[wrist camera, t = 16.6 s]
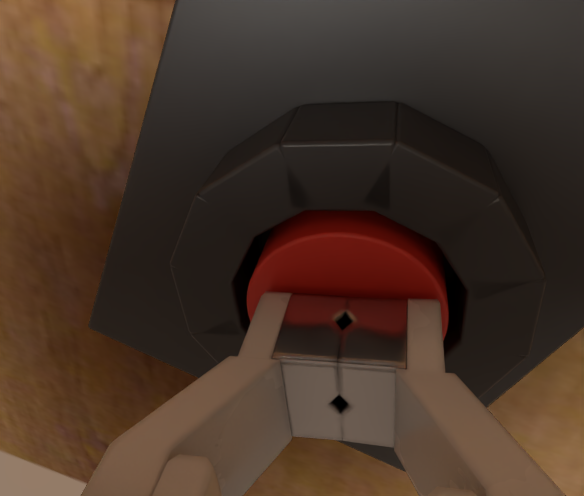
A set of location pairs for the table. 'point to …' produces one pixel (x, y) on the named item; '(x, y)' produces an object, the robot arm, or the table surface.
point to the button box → (359, 169)
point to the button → (349, 260)
